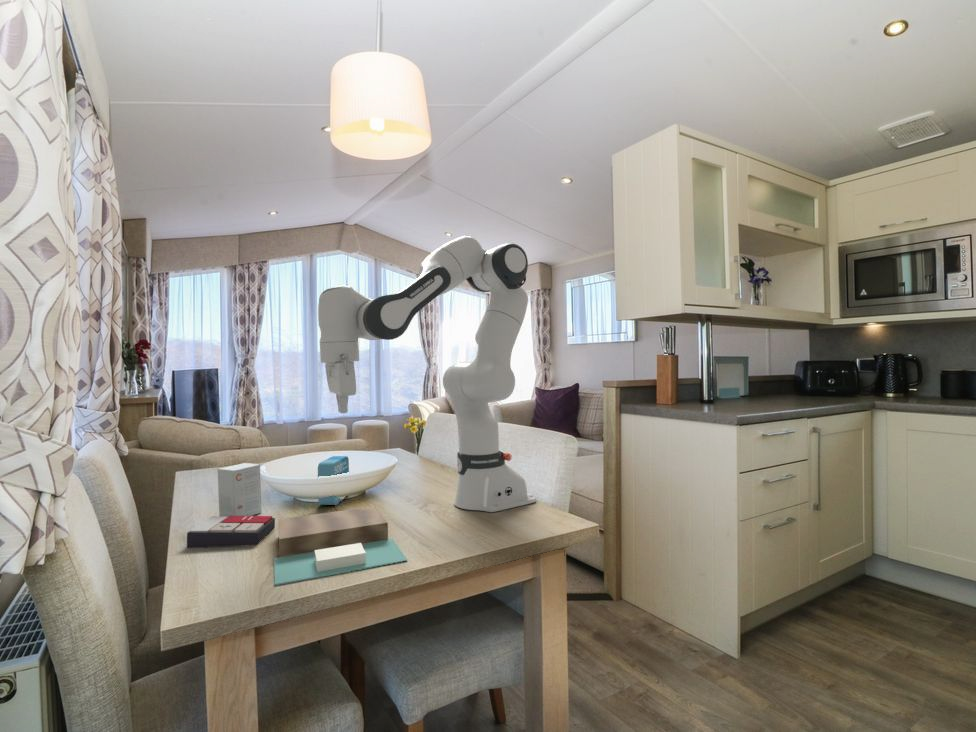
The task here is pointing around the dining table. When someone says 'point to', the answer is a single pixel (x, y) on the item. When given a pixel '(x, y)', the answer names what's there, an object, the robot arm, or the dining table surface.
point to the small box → (239, 490)
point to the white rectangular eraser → (339, 557)
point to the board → (331, 530)
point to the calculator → (230, 531)
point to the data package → (329, 468)
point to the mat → (305, 568)
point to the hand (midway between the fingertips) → (343, 412)
